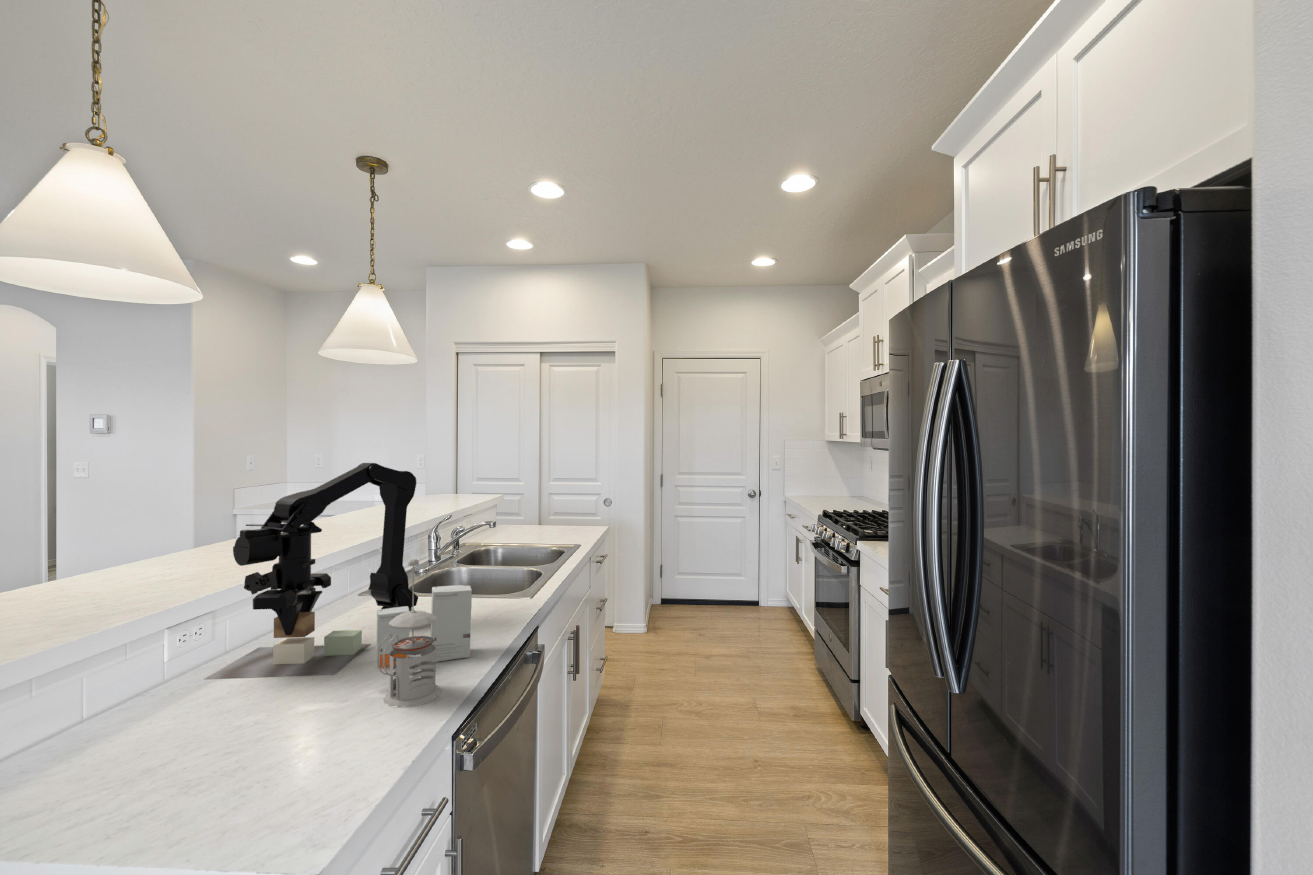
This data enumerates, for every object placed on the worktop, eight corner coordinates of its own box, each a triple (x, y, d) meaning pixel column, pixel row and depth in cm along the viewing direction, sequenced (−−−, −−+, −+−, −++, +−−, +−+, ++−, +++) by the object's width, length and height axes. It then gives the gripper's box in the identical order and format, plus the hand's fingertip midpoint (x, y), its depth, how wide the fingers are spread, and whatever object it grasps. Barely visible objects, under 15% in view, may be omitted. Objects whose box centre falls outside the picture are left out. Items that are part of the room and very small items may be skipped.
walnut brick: (314, 630, 119) (314, 611, 119) (304, 637, 115) (304, 617, 115) (284, 631, 118) (285, 612, 119) (273, 637, 115) (273, 618, 115)
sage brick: (361, 648, 124) (361, 629, 124) (353, 654, 120) (353, 635, 120) (333, 648, 123) (333, 630, 123) (324, 655, 119) (324, 636, 119)
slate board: (371, 649, 126) (371, 643, 126) (334, 680, 109) (334, 674, 109) (258, 652, 124) (258, 647, 124) (203, 685, 107) (203, 679, 107)
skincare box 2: (430, 663, 118) (430, 592, 118) (429, 653, 123) (430, 586, 124) (472, 657, 121) (472, 588, 121) (469, 648, 127) (469, 582, 127)
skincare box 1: (376, 674, 112) (376, 614, 112) (376, 667, 116) (376, 609, 116) (409, 668, 115) (409, 610, 115) (408, 661, 119) (408, 605, 119)
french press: (452, 690, 105) (453, 556, 105) (398, 716, 95) (399, 568, 95) (417, 679, 110) (417, 552, 110) (361, 703, 99) (362, 563, 100)
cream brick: (314, 655, 119) (314, 637, 119) (304, 663, 115) (304, 643, 115) (284, 656, 118) (284, 638, 118) (273, 664, 114) (273, 644, 114)
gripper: (280, 549, 126) (280, 618, 125) (223, 567, 107) (222, 648, 107) (332, 548, 127) (332, 617, 126) (284, 565, 108) (284, 646, 108)
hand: (294, 631), depth 117 cm, fingers closed on walnut brick, 4 cm apart
